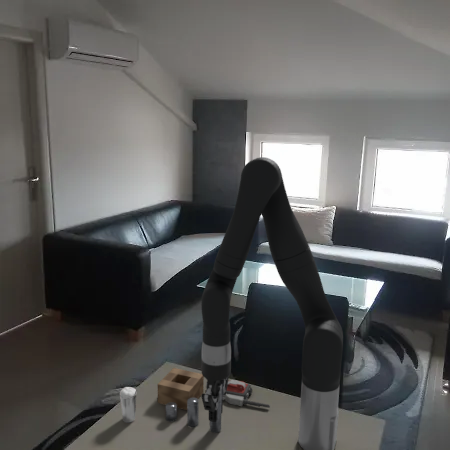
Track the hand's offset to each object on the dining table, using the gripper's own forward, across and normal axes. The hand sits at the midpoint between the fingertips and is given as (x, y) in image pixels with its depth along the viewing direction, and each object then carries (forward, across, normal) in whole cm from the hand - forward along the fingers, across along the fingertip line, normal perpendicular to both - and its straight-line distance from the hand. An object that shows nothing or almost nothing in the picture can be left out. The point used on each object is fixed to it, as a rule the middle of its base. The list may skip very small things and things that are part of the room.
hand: (215, 416), depth 128 cm
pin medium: (+4, 0, +7) cm, 8 cm away
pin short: (+4, 0, +13) cm, 14 cm away
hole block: (+4, +10, +15) cm, 19 cm away
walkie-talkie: (+5, +17, 0) cm, 18 cm away
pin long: (+4, 0, 0) cm, 4 cm away
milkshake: (+4, -5, +23) cm, 24 cm away
